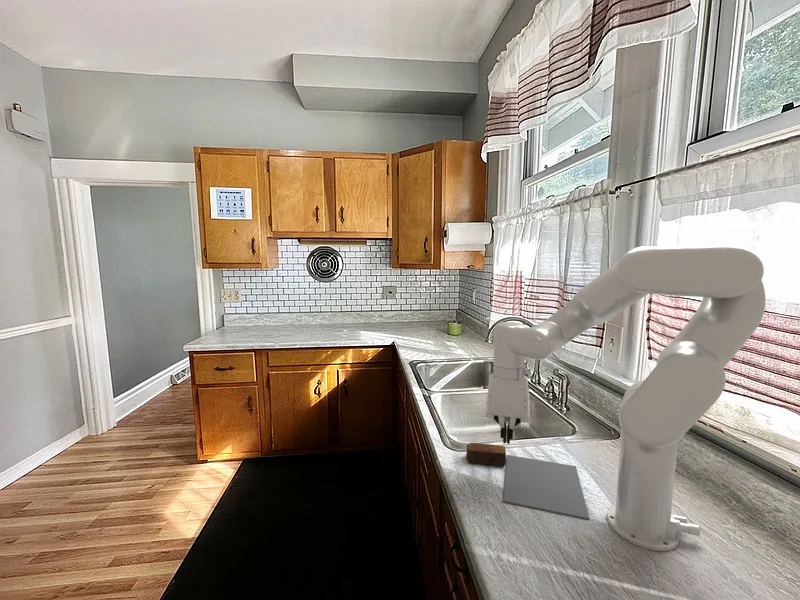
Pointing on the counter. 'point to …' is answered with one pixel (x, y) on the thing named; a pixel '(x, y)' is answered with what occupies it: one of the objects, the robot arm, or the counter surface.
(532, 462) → the mat
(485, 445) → the brick
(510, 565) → the counter surface
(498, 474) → the counter surface
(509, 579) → the counter surface
